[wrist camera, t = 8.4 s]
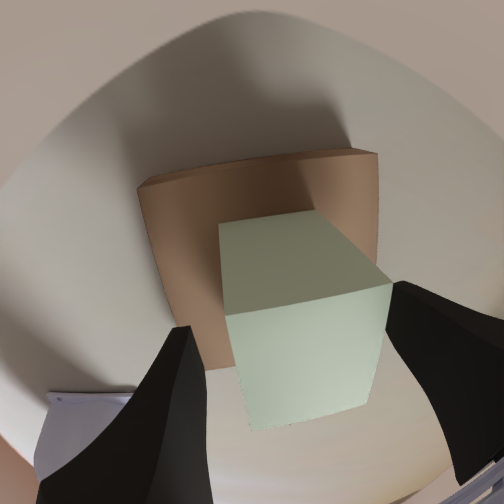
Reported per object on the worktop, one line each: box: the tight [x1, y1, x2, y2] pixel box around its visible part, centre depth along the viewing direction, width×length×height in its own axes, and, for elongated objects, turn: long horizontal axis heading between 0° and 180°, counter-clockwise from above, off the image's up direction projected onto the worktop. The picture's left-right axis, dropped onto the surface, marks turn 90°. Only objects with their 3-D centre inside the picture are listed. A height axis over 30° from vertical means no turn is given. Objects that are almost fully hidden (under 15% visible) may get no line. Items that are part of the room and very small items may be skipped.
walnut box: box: [137, 148, 379, 371], centre depth 14 cm, size 10×10×3 cm
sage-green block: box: [218, 210, 393, 431], centre depth 10 cm, size 4×5×6 cm
